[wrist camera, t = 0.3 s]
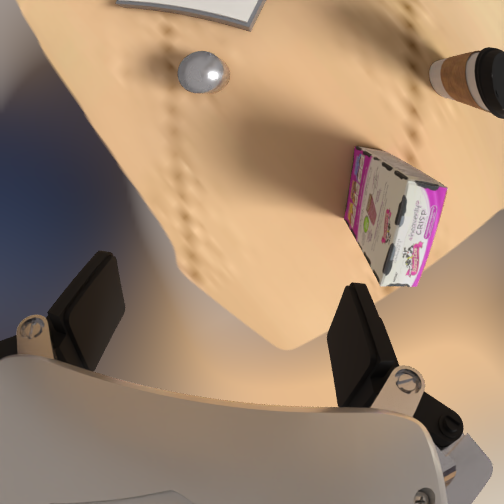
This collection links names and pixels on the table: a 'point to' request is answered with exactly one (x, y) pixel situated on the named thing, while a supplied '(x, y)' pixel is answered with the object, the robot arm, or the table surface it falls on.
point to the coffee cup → (472, 79)
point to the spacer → (203, 73)
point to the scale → (206, 9)
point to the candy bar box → (393, 215)
